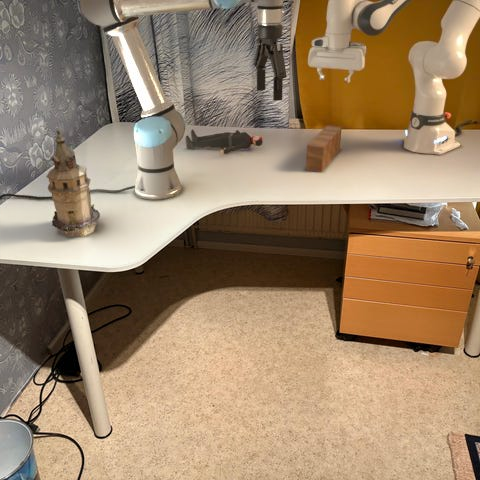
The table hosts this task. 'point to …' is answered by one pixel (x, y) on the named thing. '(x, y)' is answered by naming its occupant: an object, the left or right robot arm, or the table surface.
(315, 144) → the bar
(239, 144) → the toy
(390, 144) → the table surface
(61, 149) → the miniature building
